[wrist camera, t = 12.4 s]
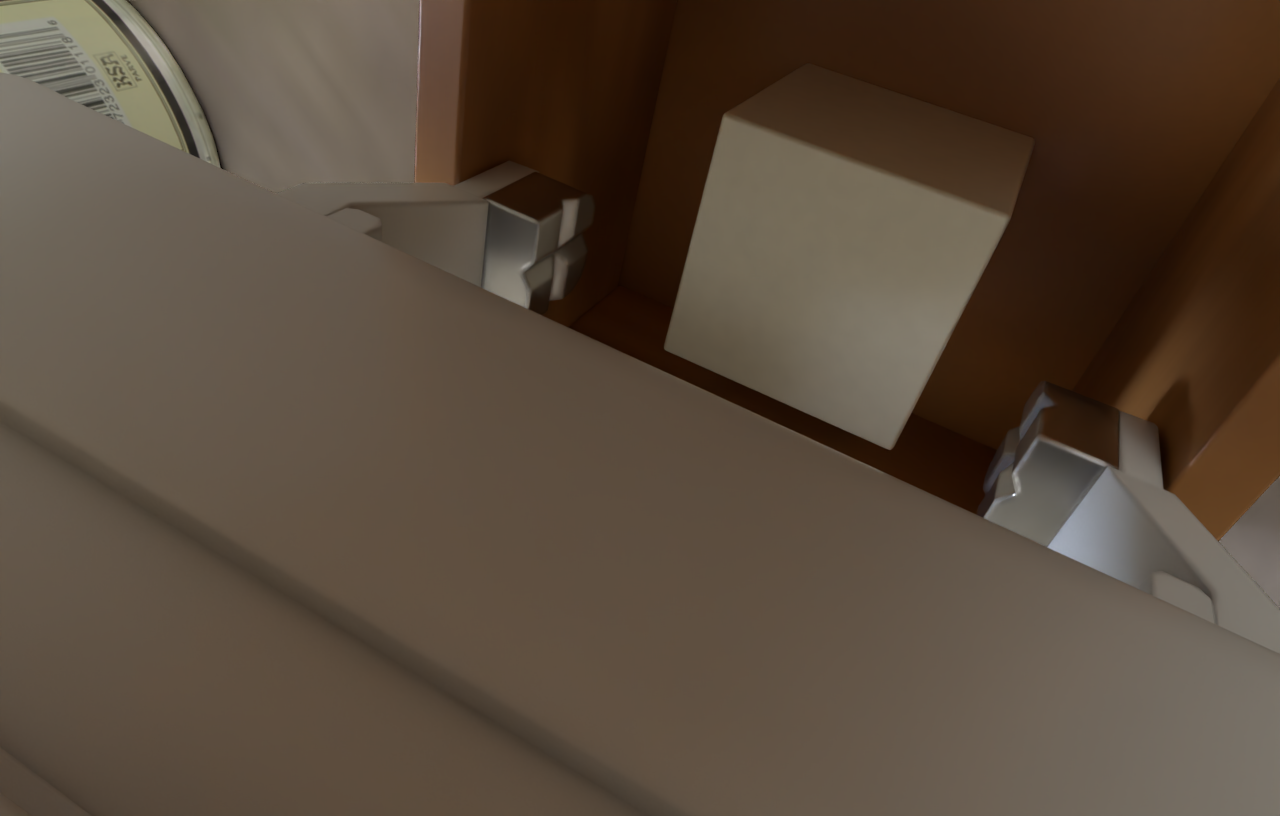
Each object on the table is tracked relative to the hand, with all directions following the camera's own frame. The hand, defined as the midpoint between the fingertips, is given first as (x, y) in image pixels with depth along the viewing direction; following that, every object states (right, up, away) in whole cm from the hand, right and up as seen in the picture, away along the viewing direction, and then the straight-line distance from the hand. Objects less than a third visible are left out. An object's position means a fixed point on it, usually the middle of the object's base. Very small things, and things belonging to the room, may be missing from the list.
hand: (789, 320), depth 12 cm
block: (+2, +3, +4) cm, 5 cm away
